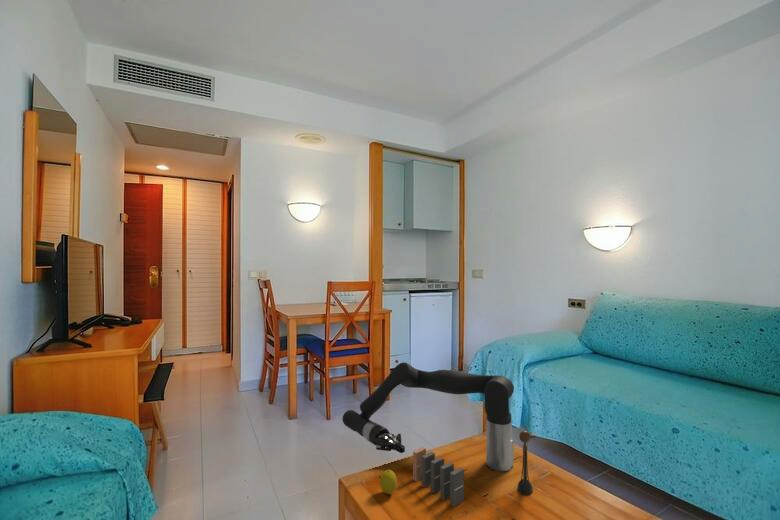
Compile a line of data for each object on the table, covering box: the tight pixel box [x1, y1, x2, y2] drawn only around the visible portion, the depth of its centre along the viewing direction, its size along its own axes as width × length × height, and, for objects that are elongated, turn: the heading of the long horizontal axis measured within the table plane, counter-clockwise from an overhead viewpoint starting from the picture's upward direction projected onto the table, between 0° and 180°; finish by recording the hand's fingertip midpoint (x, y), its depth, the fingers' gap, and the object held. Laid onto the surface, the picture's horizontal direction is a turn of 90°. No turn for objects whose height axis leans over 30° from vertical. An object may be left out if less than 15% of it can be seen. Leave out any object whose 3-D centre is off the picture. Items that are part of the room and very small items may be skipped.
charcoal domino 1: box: [421, 451, 436, 488], centre depth 127 cm, size 2×5×10 cm, turn 129°
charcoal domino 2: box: [430, 456, 445, 494], centre depth 124 cm, size 2×5×10 cm, turn 130°
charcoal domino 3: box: [439, 461, 455, 501], centre depth 120 cm, size 2×5×10 cm, turn 130°
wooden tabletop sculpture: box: [517, 430, 536, 495], centre depth 124 cm, size 6×5×20 cm
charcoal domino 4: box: [449, 466, 465, 508], centre depth 117 cm, size 2×5×10 cm, turn 130°
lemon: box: [379, 469, 398, 495], centre depth 121 cm, size 6×6×8 cm
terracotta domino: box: [412, 446, 427, 482], centre depth 130 cm, size 2×5×10 cm, turn 131°
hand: (403, 450), depth 137 cm, fingers closed
